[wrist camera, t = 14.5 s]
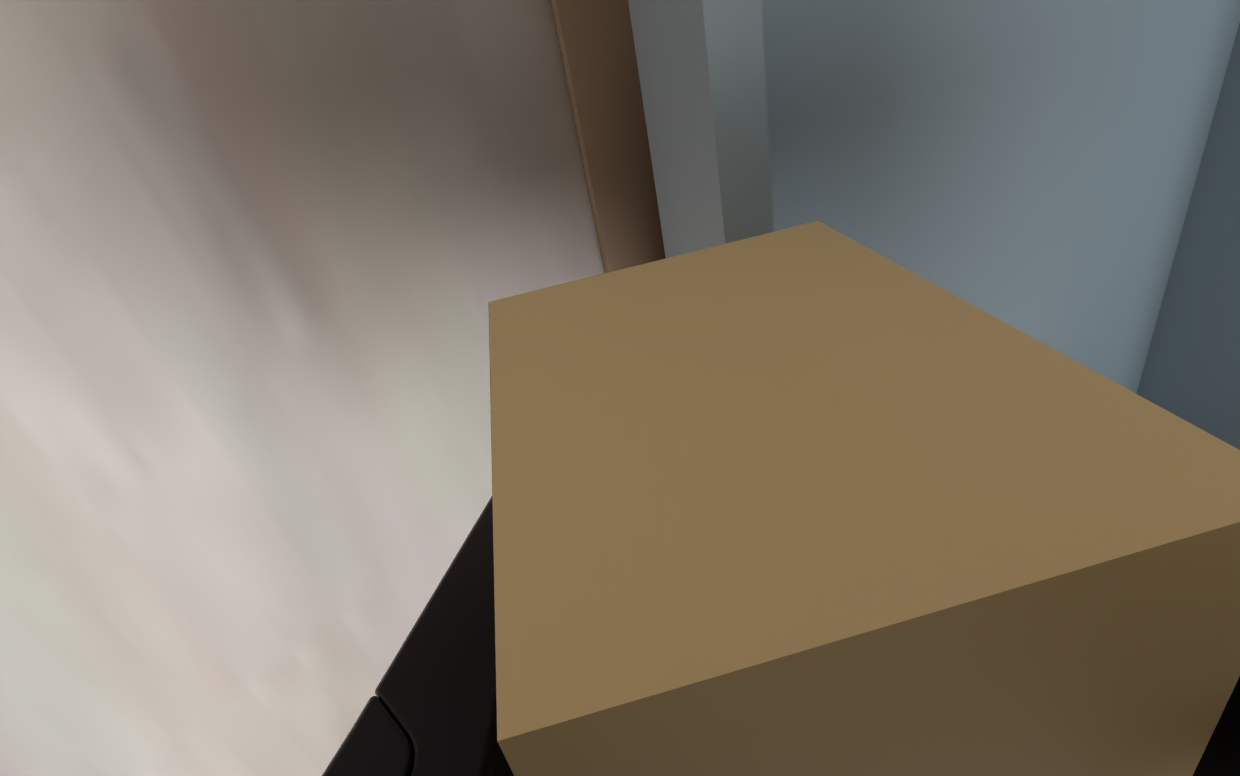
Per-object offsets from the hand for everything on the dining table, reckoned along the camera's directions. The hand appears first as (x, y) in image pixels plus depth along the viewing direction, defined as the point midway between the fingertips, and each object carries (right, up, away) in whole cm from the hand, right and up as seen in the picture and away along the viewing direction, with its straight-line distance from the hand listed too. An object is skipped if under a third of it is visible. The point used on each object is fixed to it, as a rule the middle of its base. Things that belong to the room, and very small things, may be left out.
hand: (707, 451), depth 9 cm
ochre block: (0, +1, +1) cm, 1 cm away
